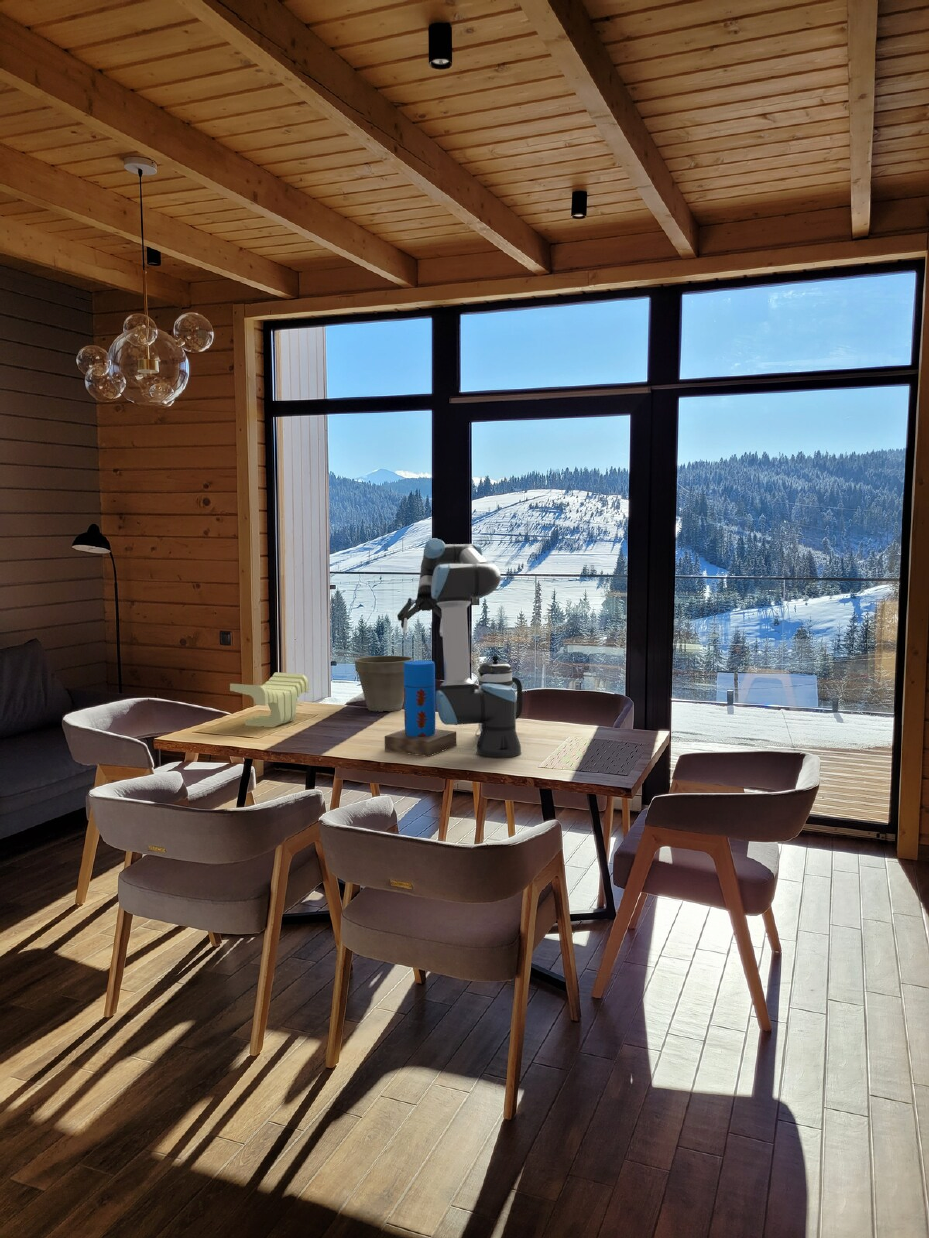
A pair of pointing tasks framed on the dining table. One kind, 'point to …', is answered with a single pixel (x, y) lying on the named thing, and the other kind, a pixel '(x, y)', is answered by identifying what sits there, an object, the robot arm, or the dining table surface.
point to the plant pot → (382, 681)
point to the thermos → (419, 698)
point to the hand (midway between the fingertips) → (422, 634)
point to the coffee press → (499, 679)
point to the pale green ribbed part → (275, 697)
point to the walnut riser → (420, 742)
